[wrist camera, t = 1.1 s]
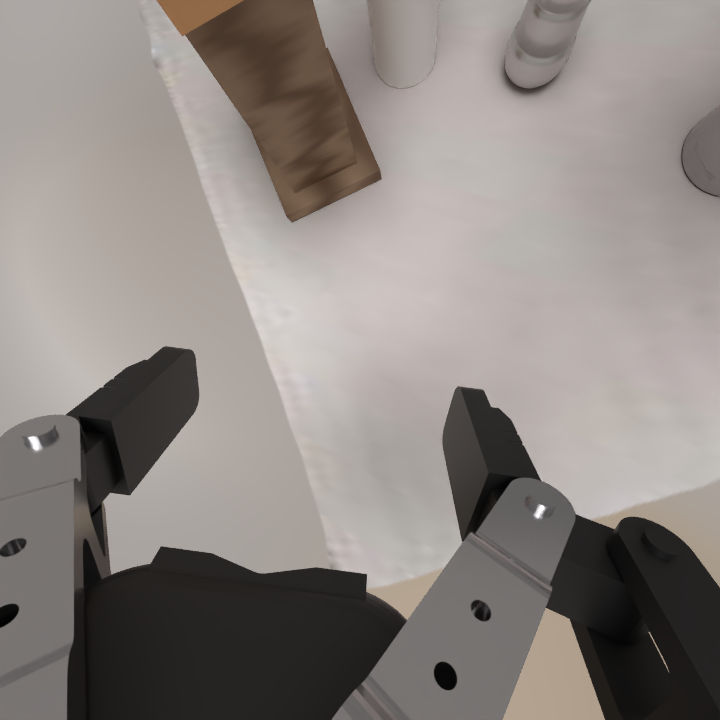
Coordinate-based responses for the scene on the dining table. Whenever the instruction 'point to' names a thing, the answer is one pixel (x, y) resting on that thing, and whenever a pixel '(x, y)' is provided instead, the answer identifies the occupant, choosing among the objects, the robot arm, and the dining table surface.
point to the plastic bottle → (543, 40)
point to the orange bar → (194, 12)
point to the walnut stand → (289, 100)
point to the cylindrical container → (404, 39)
